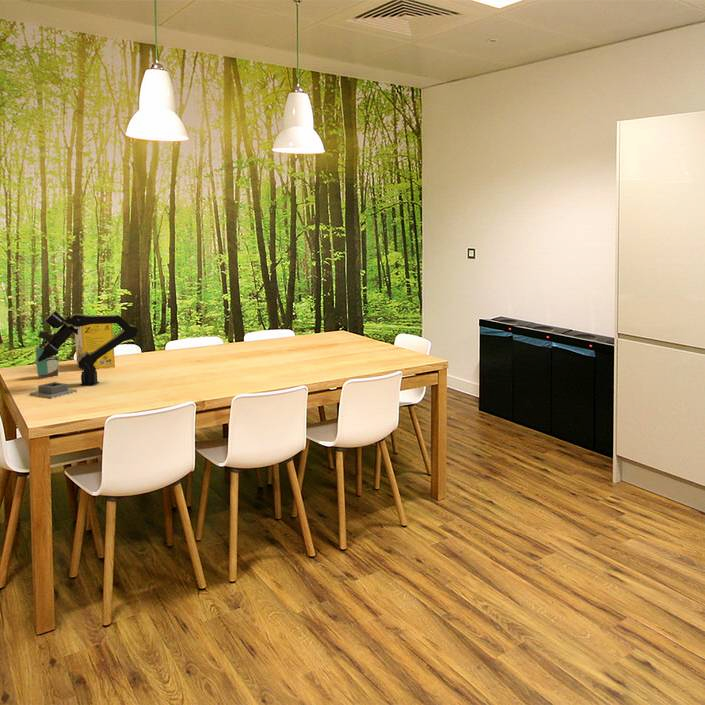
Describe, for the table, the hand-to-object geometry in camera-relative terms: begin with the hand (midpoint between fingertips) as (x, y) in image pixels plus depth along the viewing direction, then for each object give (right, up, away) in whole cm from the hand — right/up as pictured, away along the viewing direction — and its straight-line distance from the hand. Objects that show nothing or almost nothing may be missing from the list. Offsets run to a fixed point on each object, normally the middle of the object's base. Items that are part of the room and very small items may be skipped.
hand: (38, 360), depth 322 cm
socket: (+10, -15, -7) cm, 20 cm away
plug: (+1, -6, +2) cm, 7 cm away
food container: (-8, -9, +27) cm, 30 cm away
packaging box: (+7, -4, +53) cm, 53 cm away
